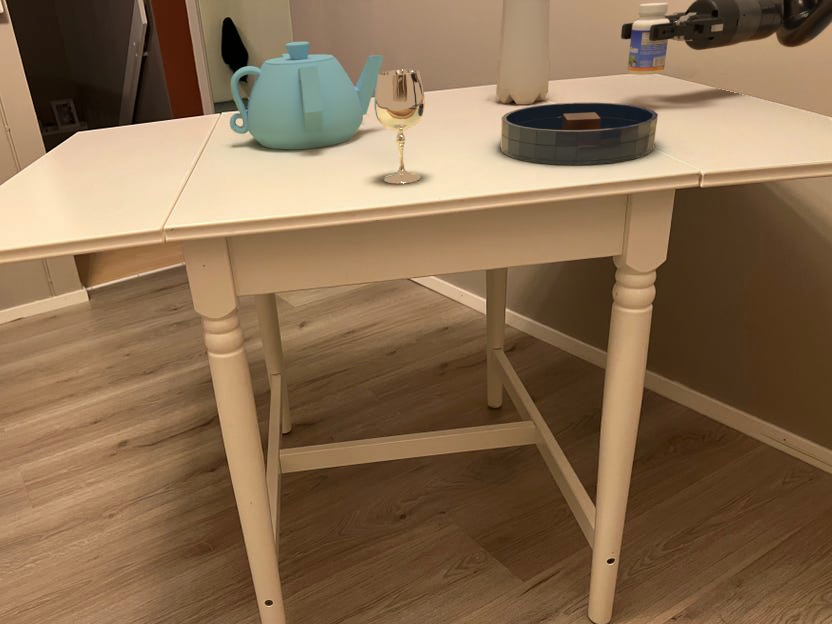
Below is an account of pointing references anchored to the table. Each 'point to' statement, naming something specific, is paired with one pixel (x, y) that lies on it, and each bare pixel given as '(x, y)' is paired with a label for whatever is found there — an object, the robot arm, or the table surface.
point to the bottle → (524, 52)
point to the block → (581, 121)
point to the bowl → (578, 134)
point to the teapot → (303, 100)
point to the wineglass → (399, 110)
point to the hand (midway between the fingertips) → (637, 32)
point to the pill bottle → (647, 41)
